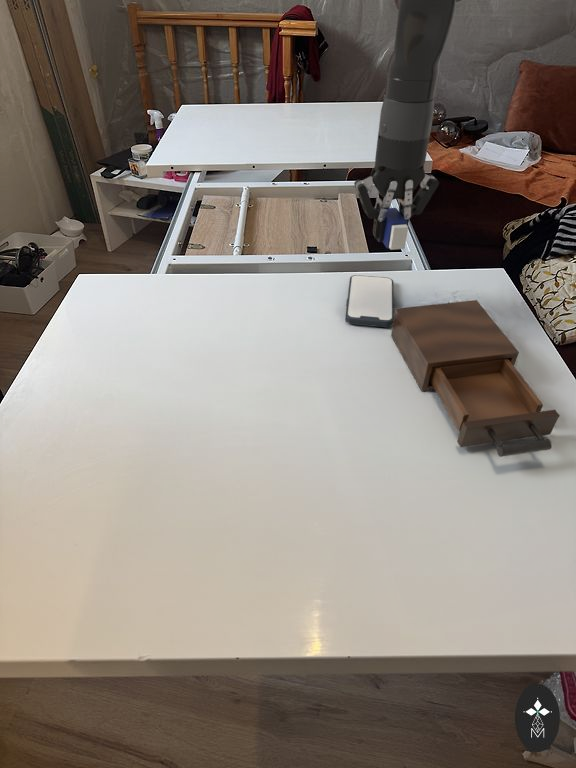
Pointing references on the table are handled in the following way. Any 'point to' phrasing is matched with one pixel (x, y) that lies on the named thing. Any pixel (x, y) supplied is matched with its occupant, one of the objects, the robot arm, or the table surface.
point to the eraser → (395, 230)
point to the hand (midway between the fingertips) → (388, 238)
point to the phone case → (370, 301)
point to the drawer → (493, 406)
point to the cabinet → (447, 337)
